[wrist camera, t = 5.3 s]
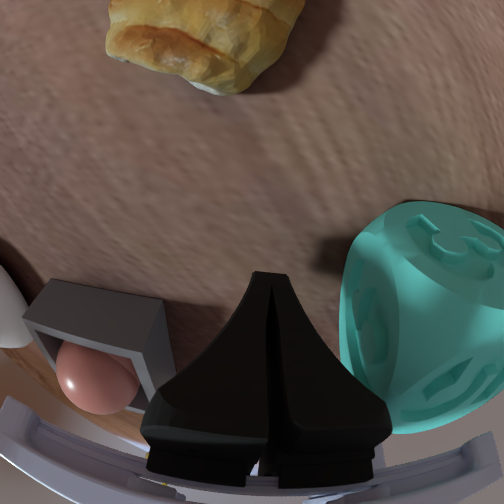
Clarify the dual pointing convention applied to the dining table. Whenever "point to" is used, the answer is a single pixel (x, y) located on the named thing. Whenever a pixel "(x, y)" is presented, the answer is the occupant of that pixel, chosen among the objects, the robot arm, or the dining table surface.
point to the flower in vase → (12, 314)
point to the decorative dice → (425, 313)
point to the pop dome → (96, 378)
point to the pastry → (202, 38)
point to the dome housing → (105, 330)
